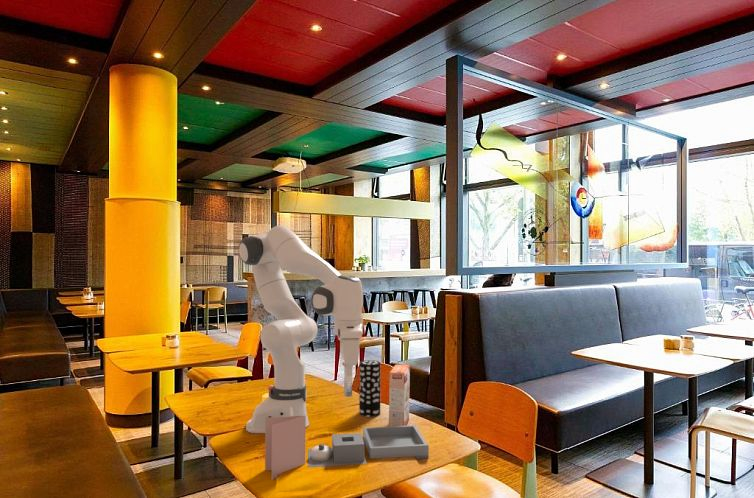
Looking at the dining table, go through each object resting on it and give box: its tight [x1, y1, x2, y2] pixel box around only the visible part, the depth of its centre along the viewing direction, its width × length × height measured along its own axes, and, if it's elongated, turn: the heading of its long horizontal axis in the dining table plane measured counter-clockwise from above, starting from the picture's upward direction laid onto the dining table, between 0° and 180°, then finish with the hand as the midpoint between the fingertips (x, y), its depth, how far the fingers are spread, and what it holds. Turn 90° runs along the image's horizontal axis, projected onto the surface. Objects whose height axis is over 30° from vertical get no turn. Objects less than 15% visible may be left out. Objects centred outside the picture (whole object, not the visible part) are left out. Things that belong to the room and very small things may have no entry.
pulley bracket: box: [307, 432, 367, 468], centre depth 146 cm, size 17×13×6 cm
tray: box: [362, 424, 430, 460], centre depth 154 cm, size 18×18×4 cm
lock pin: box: [341, 361, 353, 398], centre depth 147 cm, size 4×4×10 cm
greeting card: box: [264, 416, 306, 480], centre depth 137 cm, size 11×7×15 cm, turn 100°
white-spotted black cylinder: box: [358, 359, 382, 418], centre depth 190 cm, size 8×8×20 cm
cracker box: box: [388, 364, 411, 426], centre depth 176 cm, size 14×6×21 cm, turn 168°
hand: (348, 373), depth 147 cm, fingers closed on lock pin, 2 cm apart
